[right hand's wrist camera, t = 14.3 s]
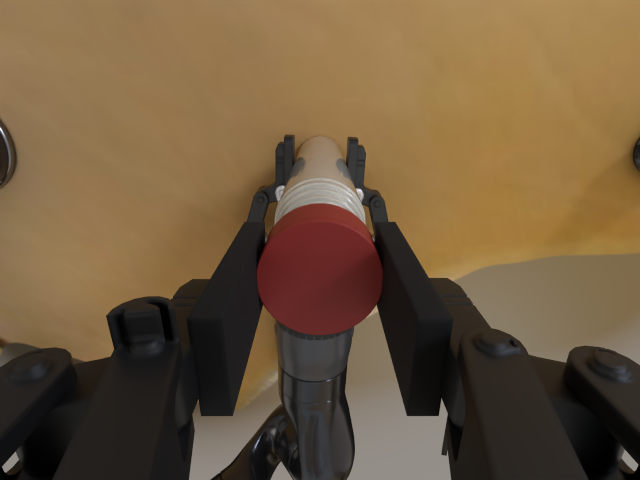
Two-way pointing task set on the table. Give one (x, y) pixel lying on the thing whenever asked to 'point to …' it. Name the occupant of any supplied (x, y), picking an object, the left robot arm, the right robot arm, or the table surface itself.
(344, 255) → the cap
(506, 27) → the table surface
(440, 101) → the table surface
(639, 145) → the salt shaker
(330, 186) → the bottle
